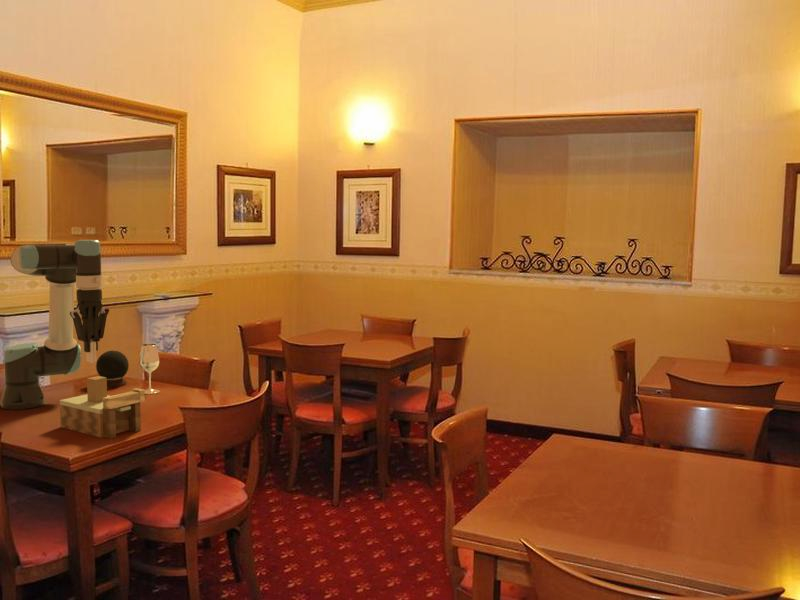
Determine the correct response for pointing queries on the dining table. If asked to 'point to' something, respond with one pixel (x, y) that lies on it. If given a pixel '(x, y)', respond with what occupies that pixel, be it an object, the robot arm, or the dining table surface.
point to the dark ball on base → (113, 368)
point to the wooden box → (101, 420)
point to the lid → (92, 397)
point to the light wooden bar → (124, 399)
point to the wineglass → (149, 362)
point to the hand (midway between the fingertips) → (91, 361)
